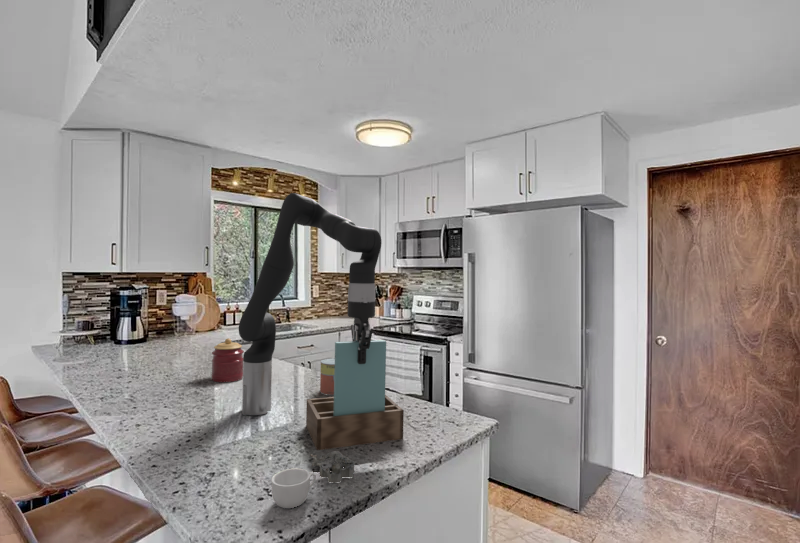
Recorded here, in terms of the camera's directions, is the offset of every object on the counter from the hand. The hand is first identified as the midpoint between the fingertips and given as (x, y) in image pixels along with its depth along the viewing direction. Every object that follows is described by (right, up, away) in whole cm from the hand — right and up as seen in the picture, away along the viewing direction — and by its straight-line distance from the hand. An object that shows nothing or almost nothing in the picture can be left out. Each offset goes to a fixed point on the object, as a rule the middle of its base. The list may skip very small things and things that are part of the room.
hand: (360, 362), depth 117 cm
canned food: (-15, -23, +53) cm, 59 cm away
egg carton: (-5, -23, -16) cm, 28 cm away
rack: (-3, -23, +6) cm, 24 cm away
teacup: (-11, -23, -28) cm, 38 cm away
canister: (-64, -22, +68) cm, 96 cm away
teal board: (0, -14, 0) cm, 14 cm away
